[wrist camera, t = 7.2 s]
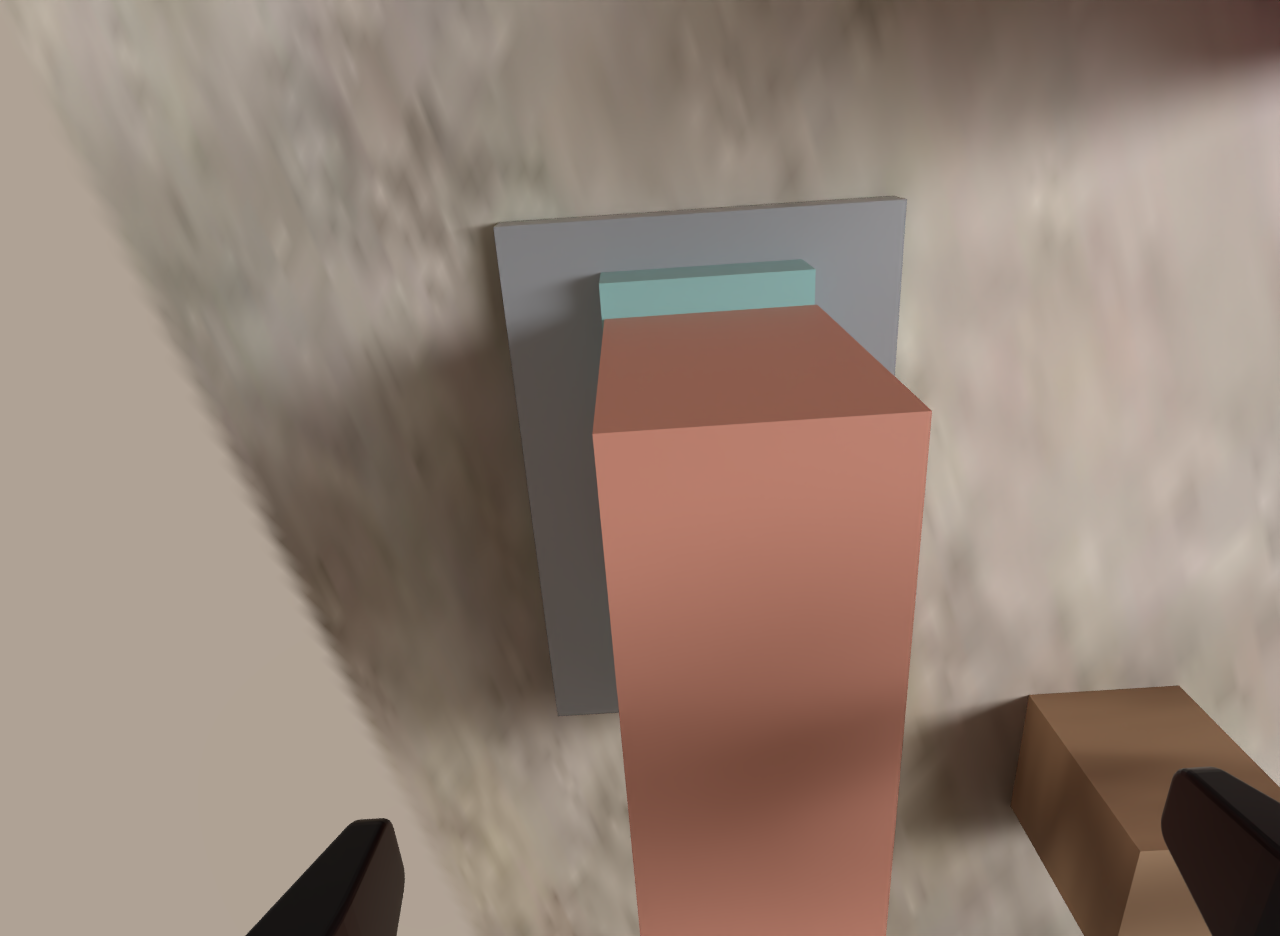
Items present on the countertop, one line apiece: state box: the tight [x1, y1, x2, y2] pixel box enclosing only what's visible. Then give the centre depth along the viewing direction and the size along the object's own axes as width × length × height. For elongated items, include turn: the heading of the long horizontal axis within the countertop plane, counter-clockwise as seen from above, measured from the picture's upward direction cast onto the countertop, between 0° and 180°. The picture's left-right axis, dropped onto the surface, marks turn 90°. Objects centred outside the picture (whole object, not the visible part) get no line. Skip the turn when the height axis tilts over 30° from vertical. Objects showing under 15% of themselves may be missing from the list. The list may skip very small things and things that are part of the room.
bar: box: [592, 305, 932, 936], centre depth 14 cm, size 10×4×6 cm, turn 4°
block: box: [1011, 686, 1280, 936], centre depth 20 cm, size 4×4×5 cm
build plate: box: [493, 196, 907, 716], centre depth 17 cm, size 12×8×2 cm, turn 4°
